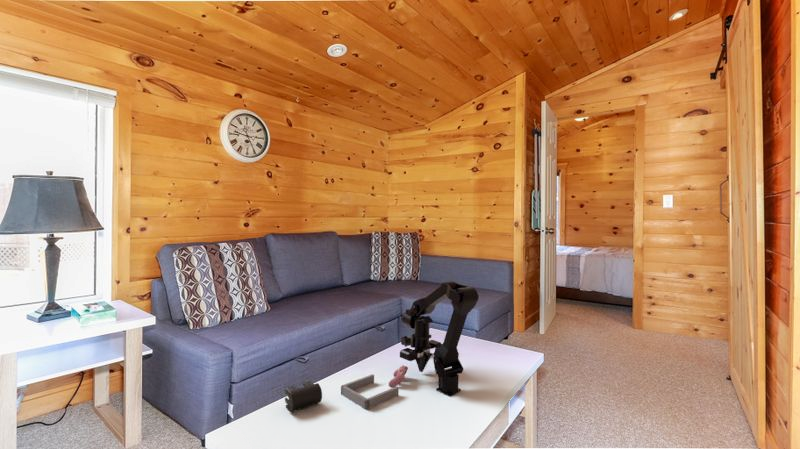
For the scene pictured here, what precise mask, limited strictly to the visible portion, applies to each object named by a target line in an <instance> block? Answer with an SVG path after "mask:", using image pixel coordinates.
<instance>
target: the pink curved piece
mask: <svg viewBox="0 0 800 449" xmlns="http://www.w3.org/2000/svg"><path fill="white" fill-rule="evenodd" d="M408 369H409V367H408V366H407V365H401V366H400V367H399V368H398V369H396V370H395V371H394V372H393V373H392V374H393V377H394V378H392V379H391V380H389V382H388V386H389V387H390V388H394V387H396V386H397V387H398V386H400V385H401V383H402V382H404V381H406V374H407V372H408Z"/></svg>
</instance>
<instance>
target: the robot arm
mask: <svg viewBox="0 0 800 449" xmlns="http://www.w3.org/2000/svg"><path fill="white" fill-rule="evenodd" d="M445 299H449V300H450V301H451V302H450V303H451V306H452V308H453V310H452V314H451V317H450V321H449V324H448V326H447V330H446V333H445V336H444V339H443V343H441V342H440V341H438V340H434V339H431V338H432V334H430V324H433V323H434V320H433V319H432V318H431V316H430V315H431V314H432V312H433V311H434V310H435V309H436V306H437V305H438V304H440V302H443V301H444V300H445ZM478 301H479V293H478V292H477V290H476V288H474V287H473V286H469V285H464V284H460V283H458V282H456V281H453V280H452V281H444V282H442V283H441V285H439V286H438V287H436V288H435V289H434V290H433V291H431V293H429V294H428V295H427V296H425V297H422V298H418V299H416V300H414V301H413V302H412V304H411V307H410V308H407V309H405V312H404V313H403V314H402V316H401V323H402V324H403V325H404V326H406V327H409V328H411V329H413V330H414V333H412V335H411V336H407V335H403V336H400V344H401V345H402V346H404V347H406V348H403V349H401V350H400V351H399V358H401V359H404V360H406V361H409V362H413V361H415V362H416V365H417V368H418V371H419V373H420V372H421V373H422V372H423V371H424V370H425V368H426V366H427V364H428V362H429V360H430V359H431V357H433V365H434V366H433V367H434V371H435V374H436V375H437V377H438V382H437V383H438V385H437V386H438V387H436V389H435V391H437V392H440V393H441V394H443V395H446V396H448V397H452V396H454V395H456V394H457V393H459V392H461V391H462V389H461V388H460V387H459V378H460V377H459V375H460V374H462V373H463V371H464V367H463V365H462V363H461V361H460V359H459V355H460V354H459V350H458V345H459V342H460V340H461V335H462V333H463V331H464V330H463V329H464V327H465V323H466V320H467V317H468V315H469V313H470V312H471V311H472V310H474V308H475V307H476V305H477V302H478ZM429 314H430V315H429ZM425 315H427V316H425ZM408 346H409V347H408ZM433 349H434V351H433V353H432V352H431V350H433Z"/></svg>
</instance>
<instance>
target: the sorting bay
mask: <svg viewBox="0 0 800 449" xmlns="http://www.w3.org/2000/svg"><path fill="white" fill-rule="evenodd" d="M374 383H375V374H370V375H367V376H364V377H361V378H358V379H356V380H353V381H350V382H348V383H345V384H342V385H341V386H340V396H341V395H342V396H343V397H344V398H346V399H348V400H349V401H351V402H353V403H354V404H355V405H358V406H360V407H361V408H363V409H364V410H366V411H368V410H370V409H372V408H375V407H377V406H379V405H381V404H383V403H385V402H388V401H391V400H393V399H394V398H397V397H399V389H400V388H399V387H398V385H397V386H395V387H390V388H389V389H387V390H385V391H381V392H379V393H377V394H375V395H373V396H370V397H365V396H364V395H362V394H360V393H358V392H357V390H361V389H363V388H365V387H369V386H370V385H373V384H374Z"/></svg>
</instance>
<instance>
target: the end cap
mask: <svg viewBox="0 0 800 449" xmlns="http://www.w3.org/2000/svg"><path fill="white" fill-rule="evenodd" d="M302 386H303V387H296V386H295V385H292V386H288V387H286V388H285V391H284V394H285V395H286V397H285V398H284V401H285V408H286V409H287V411H289V413H294V412H296V411H300V410H303V409H306V408H308V407H312V406H315V405H317V404H319V403H321V401H322V400H323V399H322V398H323V391H322V388H321V385H320V384H319V383H318V382H317V383H313V382H312V381H306V382H303V383H302ZM287 397H288V398H287Z"/></svg>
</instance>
